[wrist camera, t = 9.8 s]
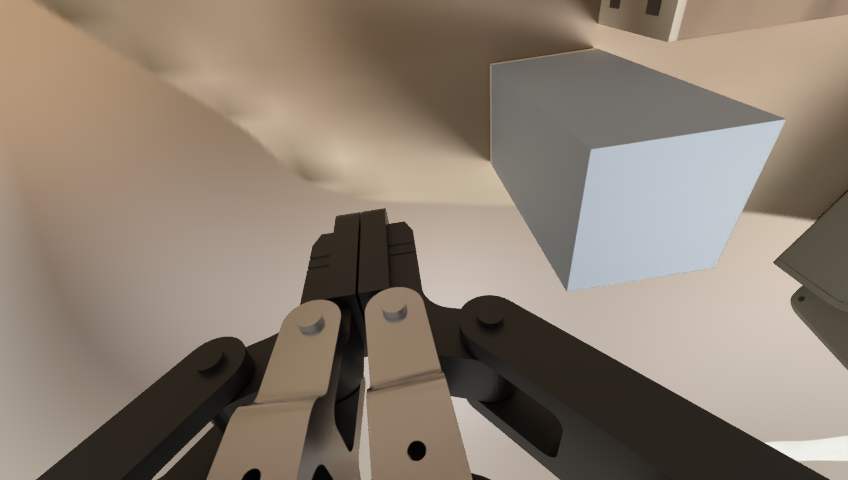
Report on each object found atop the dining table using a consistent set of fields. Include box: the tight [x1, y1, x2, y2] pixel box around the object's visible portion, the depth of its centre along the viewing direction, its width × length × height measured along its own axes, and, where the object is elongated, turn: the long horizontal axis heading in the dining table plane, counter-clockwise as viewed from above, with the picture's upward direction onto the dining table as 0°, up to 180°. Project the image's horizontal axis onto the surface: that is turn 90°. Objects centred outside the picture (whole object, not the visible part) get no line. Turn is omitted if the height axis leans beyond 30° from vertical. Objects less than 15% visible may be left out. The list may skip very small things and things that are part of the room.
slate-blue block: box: [490, 48, 786, 292], centre depth 15 cm, size 5×5×10 cm
